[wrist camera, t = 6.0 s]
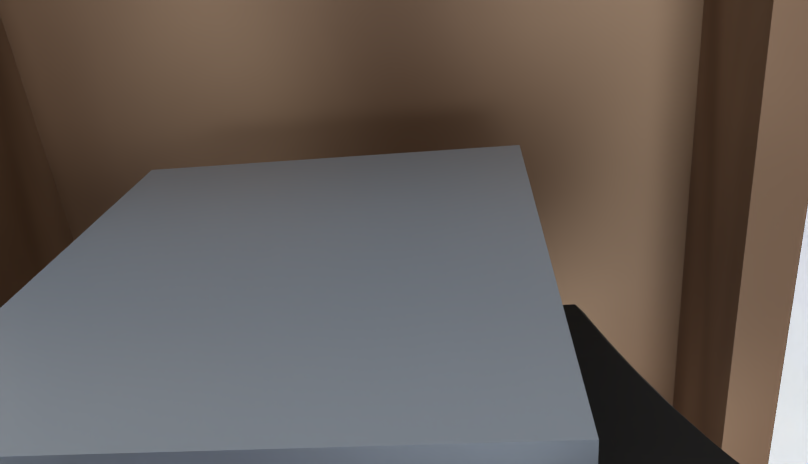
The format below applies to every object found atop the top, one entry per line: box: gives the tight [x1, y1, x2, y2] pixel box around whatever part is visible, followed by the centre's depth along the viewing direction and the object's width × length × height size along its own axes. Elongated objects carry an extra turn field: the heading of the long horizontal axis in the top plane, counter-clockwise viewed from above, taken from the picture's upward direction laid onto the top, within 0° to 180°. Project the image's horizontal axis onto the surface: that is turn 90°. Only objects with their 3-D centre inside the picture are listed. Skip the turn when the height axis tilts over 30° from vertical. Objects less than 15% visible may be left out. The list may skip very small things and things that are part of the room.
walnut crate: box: [0, 0, 808, 464], centre depth 13 cm, size 14×14×4 cm
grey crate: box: [0, 145, 599, 464], centre depth 9 cm, size 5×5×6 cm
